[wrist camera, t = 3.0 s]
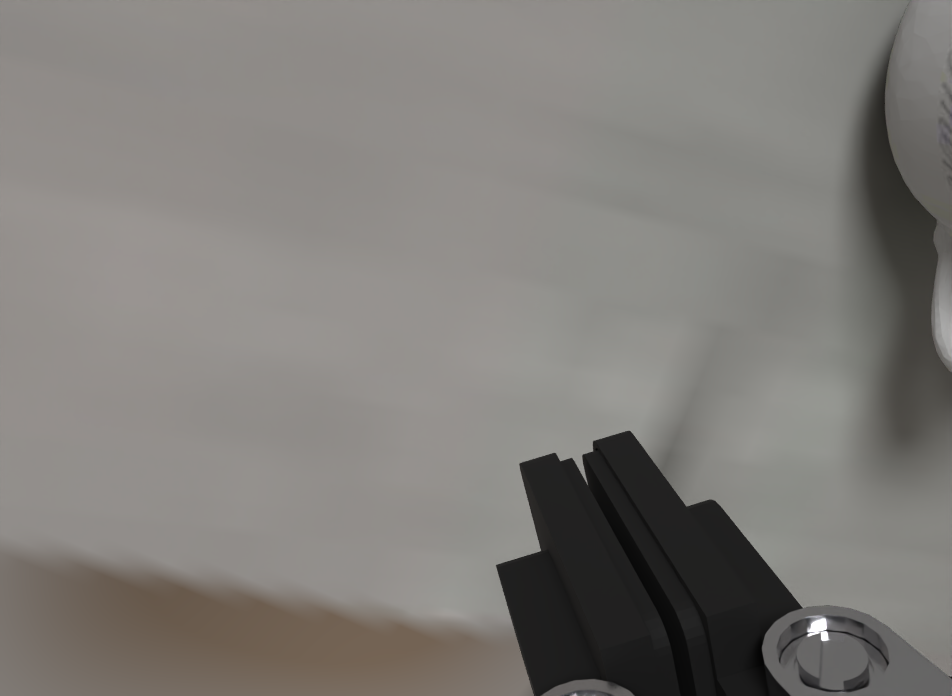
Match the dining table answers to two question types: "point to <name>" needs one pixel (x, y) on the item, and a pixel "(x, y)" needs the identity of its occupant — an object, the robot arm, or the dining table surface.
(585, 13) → the dining table surface
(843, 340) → the dining table surface
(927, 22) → the teacup
